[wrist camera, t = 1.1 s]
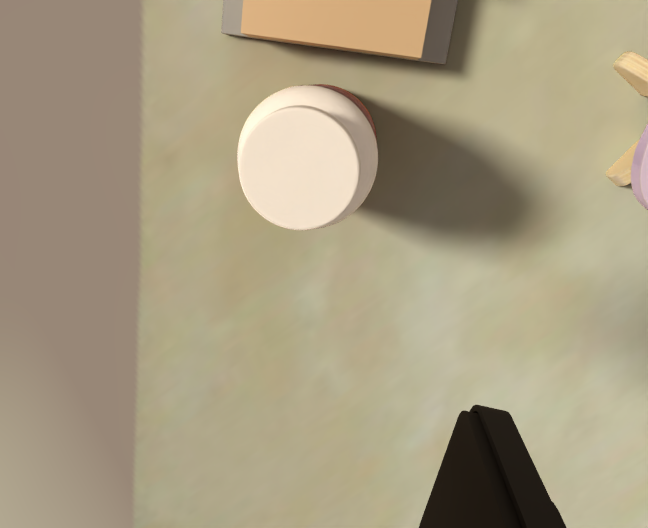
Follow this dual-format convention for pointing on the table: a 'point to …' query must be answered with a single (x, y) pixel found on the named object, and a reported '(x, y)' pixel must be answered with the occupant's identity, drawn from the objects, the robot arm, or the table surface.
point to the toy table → (644, 156)
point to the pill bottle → (308, 156)
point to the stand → (349, 25)
